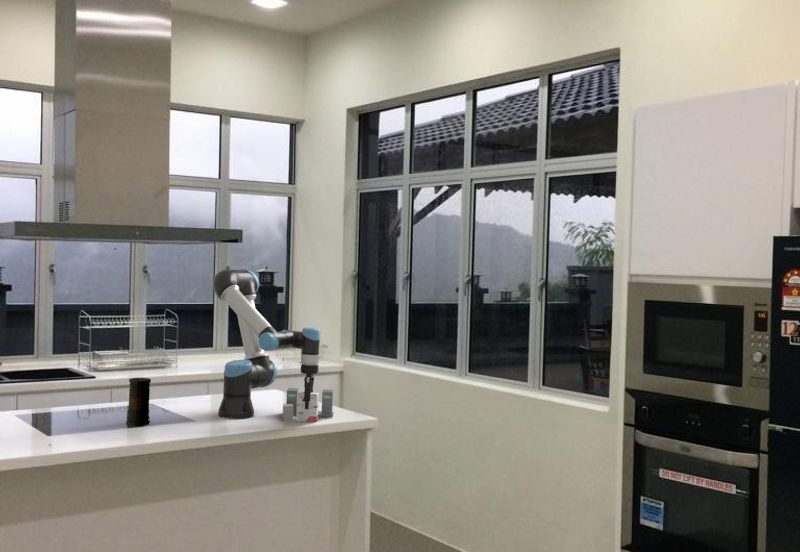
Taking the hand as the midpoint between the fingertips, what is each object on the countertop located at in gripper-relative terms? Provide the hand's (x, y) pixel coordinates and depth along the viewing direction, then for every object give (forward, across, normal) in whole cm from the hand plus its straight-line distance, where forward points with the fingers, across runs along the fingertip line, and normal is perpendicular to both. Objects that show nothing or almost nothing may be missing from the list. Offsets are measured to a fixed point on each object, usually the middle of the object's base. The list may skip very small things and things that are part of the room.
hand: (307, 413), depth 339 cm
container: (+3, -19, +66) cm, 69 cm away
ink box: (+3, 0, 0) cm, 3 cm away
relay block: (+3, +2, +9) cm, 9 cm away
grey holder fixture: (+3, +12, 0) cm, 12 cm away
